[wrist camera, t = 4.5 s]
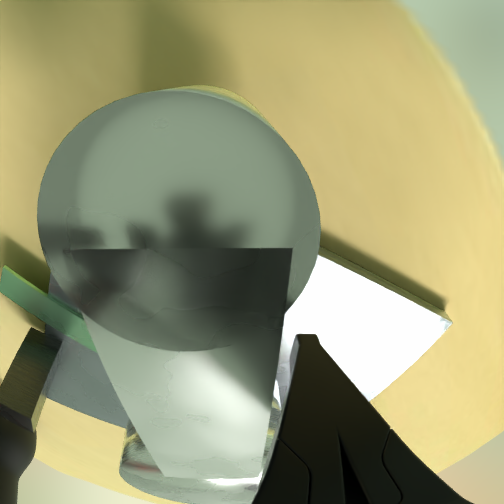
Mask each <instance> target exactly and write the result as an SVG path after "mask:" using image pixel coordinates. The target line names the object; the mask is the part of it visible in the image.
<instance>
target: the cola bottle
mask: <svg viewBox="0 0 504 504" xmlns="http://www.w3.org/2000/svg"><path fill="white" fill-rule="evenodd" d="M36 439H37V436H36V429H35V432H34V433H32V432H30V431H28V430H26V429H24V428H22V427H20V426H18V425H16V424H14V423H12V422H10V421H8V420H6V419H4V418H3V417H1V416H0V504H17V493H18V481H19V478H20V476H21V475H22V473H23V472H24V470H25V469H26V468H27V467H28V465H29V464H30V463H31V461H32V459H33V457H34V454H35V450H36Z"/></svg>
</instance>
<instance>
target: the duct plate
mask: <svg viewBox="0 0 504 504" xmlns="http://www.w3.org/2000/svg"><path fill="white" fill-rule="evenodd" d="M0 292H1V293H3V294H4V295H5V296H7V297H8V298H9V299H11V300H12V301H14V302H15V303H17V304H18V305H19V306H21V307H22V308H24V309H25V310H27V311H28V312H30V313H31V314H33V315H34V316H36V317H37V318H39V319H40V320H42V321H44V322H45V323H46V324H45V334H44V333H42V332H40V331H38V330H36V329H34V328H32V327H31V328H30V330H29V332H28V334H27V335H26V337H25V339H24V341H23V343H22V344H21V346H20V348H19V350H18V352H17V354H16V356H15V358H14V360H13V362H12V364H11V366H10V368H9V370H8V372H7V374H6V376H5V378H4V380H3V382H2V384H1V386H0V416H1V417H3V418H4V419H6V420H8V421H10V422H12V423H14V424H16V425H18V426H20V427H22V428H24V429H26V430H28V431H30V432H32V433H34V432H35V429H36V426H37V423H38V420H39V417H40V414H41V411H42V408H43V405H44V403H45V400H46V397H47V398H49V399H51V400H53V401H55V402H58V403H60V404H62V405H65V406H67V407H69V408H72V409H74V410H76V411H79V412H81V413H84V414H87V415H89V416H92V417H94V418H97V419H100V420H103V421H105V422H108V423H111V424H114V425H117V426H120V427H123V428H126V426H127V423H128V421H129V419H130V418H129V417H128V415H127V413H126V411H125V409H124V407H123V405H122V403H121V401H120V399H119V397H118V395H117V393H116V391H115V389H114V387H113V385H112V383H111V381H110V379H109V377H108V375H107V373H106V370H105V368H104V366H103V364H102V362H101V359H100V357H99V355H98V352H97V350H96V348H95V345H94V343H93V341H92V338H91V336H90V333H89V331H88V328H87V325H86V323H85V320H84V318H83V315H82V312H81V310H80V309H79V308H78V307H77V306H76V305H75V304H74V303H73V302H72V301H71V300H70V299H69V297H68V296H67V295H66V294H65V293H64V291H63V290H62V288H61V287H60V285H59V284H58V282H57V281H56V279H55V278H54V276H53V274H52V272H51V274H50V282H49V291H48V294H46V293H45V292H43V291H42V290H40V289H39V288H37V287H36V286H34V285H33V284H31V283H30V282H28V281H27V280H26V279H24V278H23V277H21V276H20V275H18V274H17V273H16V272H14V271H13V270H12V269H10V268H9V267H7V266H6V265H5V266H4V267H3V270H2V276H1V281H0ZM452 323H453V322H452V321H451V320H450V318H449V317H448V315H447V314H446V312H444V311H443V310H441V309H439V308H437V307H435V306H433V305H432V304H430V303H428V302H426V301H424V300H422V299H421V298H419V297H417V296H415V295H413V294H411V293H410V292H408V291H406V290H404V289H402V288H400V287H398V286H396V285H395V284H393V283H391V282H389V281H387V280H385V279H383V278H381V277H379V276H377V275H376V274H374V273H372V272H370V271H368V270H366V269H364V268H362V267H360V266H358V265H356V264H354V263H352V262H350V261H348V260H346V259H345V258H343V257H341V256H339V255H337V254H335V253H333V252H331V251H329V250H327V249H325V248H323V247H321V246H320V247H319V252H318V256H317V261H316V265H315V267H314V270H313V272H312V275H311V277H310V280H309V282H308V283H307V285H306V287H305V289H304V290H303V292H302V294H301V295H300V296H299V298H298V299H297V300H296V302H295V303H294V304H293V306H292V307H291V308H290V309H289V310H288V311H287V312H286V313H285V318H284V325H283V333H282V340H281V347H280V354H279V361H278V368H277V375H276V381H275V388H274V394H273V401H272V407H273V408H276V409H279V410H281V408H282V405H283V401H284V397H285V393H286V390H287V386H288V382H289V378H290V362H289V361H290V353H291V349H292V345H293V341H294V337H295V335H296V334H298V333H315V334H317V336H318V338H319V340H320V343H321V345H322V346H323V347H324V349H325V350H326V351H327V352H328V353H329V355H330V356H331V357H332V358H333V359H334V361H335V362H336V363H337V364H338V365H339V366H340V368H341V369H342V370H343V371H344V372H345V374H346V375H347V376H348V377H349V378H350V380H351V381H352V382H353V383H354V384H355V386H356V387H357V388H358V389H359V390H360V391H361V393H362V394H363V395H364V396H365V397H366V399H367V400H368V401H370V400H372V399H373V398H374V397H375V396H377V395H378V394H379V393H380V392H381V391H383V390H384V389H385V388H386V387H387V386H388V385H390V384H391V383H392V382H393V381H394V380H395V379H396V378H397V377H399V376H400V375H401V374H402V373H403V372H404V371H405V370H406V369H407V368H408V367H410V366H411V365H412V364H413V363H414V362H415V361H416V360H417V359H418V358H419V357H420V356H421V355H422V354H423V353H424V352H425V351H426V350H427V349H428V348H429V347H430V346H431V345H432V344H433V343H434V342H435V341H436V340H437V339H438V338H439V337H440V336H441V335H442V334H443V333H444V332H445V331H446V330H447V329H448V327H449V326H450V325H451V324H452Z"/></svg>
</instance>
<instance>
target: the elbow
mask: <svg viewBox="0 0 504 504" xmlns="http://www.w3.org/2000/svg"><path fill="white" fill-rule="evenodd" d="M37 222H38V232H39V238H40V242H41V246H42V250H43V253H44V256H45V258H46V261H47V264H48V266H49V268H50V270H51V272H52V274H53V276H54V278H55V279H56V281H57V282H58V284H59V285H60V287H61V288H62V290H63V291H64V293H65V294H66V295H67V296H68V297H69V299H70V300H71V301H72V302H73V303H74V304H75V305H76V306H77V307H78V308H79V309H80V310H81V312H82V315H83V318H84V320H85V323H86V325H87V328H88V331H89V333H90V336H91V338H92V341H93V343H94V345H95V348H96V350H97V352H98V355H99V357H100V359H101V362H102V364H103V366H104V368H105V370H106V373H107V375H108V377H109V379H110V381H111V383H112V385H113V387H114V389H115V391H116V393H117V395H118V397H119V399H120V401H121V403H122V405H123V407H124V409H125V411H126V413H127V415H128V417H129V418H130V419H129V421H128V423H127V426H126V432H125V437H124V443H123V449H122V455H121V461H120V468H119V473H120V476H121V477H122V478H123V479H124V480H125V481H126V482H127V483H128V484H130V485H132V486H133V487H135V488H137V489H139V490H141V491H143V492H146V493H148V494H151V495H154V496H157V497H160V498H164V499H168V500H172V501H177V502H182V503H189V504H251V503H252V501H253V499H254V496H255V493H256V490H257V487H258V484H259V482H260V478H261V475H262V472H263V469H264V466H265V463H266V459H267V456H268V453H269V450H270V446H271V443H272V440H273V436H274V433H275V429H276V426H277V422H278V419H279V415H280V412H281V410H279V409H276V408H273V407H272V401H273V394H274V388H275V381H276V375H277V368H278V361H279V354H280V347H281V340H282V333H283V325H284V318H285V313H286V312H287V311H288V310H289V309H290V308H291V307H292V306H293V304H294V303H295V302H296V300H297V299H298V298H299V296H300V295H301V294H302V292H303V290H304V289H305V287H306V285H307V283H308V282H309V280H310V277H311V275H312V272H313V270H314V267H315V265H316V261H317V256H318V252H319V247H320V235H321V226H320V212H319V208H318V203H317V199H316V194H315V192H314V189H313V186H312V184H311V181H310V179H309V176H308V174H307V172H306V171H305V169H304V167H303V165H302V164H301V162H300V160H299V159H298V157H297V156H296V154H295V153H294V152H293V151H292V149H291V148H290V147H289V146H288V144H287V143H286V142H285V141H284V139H283V138H282V137H281V136H280V135H279V134H278V133H277V131H276V130H275V129H274V128H273V127H272V126H271V125H270V123H269V122H268V121H267V120H266V119H265V118H264V117H263V116H262V114H261V113H260V112H259V111H258V110H257V109H256V108H255V107H254V106H253V105H252V104H251V103H250V102H248V101H247V100H246V99H244V98H243V97H241V96H239V95H238V94H236V93H233V92H231V91H229V90H226V89H223V88H220V87H215V86H209V85H193V86H184V87H177V88H170V89H163V90H157V91H151V92H146V93H141V94H135V95H132V96H129V97H126V98H123V99H120V100H117V101H114V102H112V103H110V104H108V105H106V106H104V107H102V108H100V109H98V110H97V111H95V112H94V113H92V114H91V115H89V116H88V117H87V118H85V119H84V120H83V121H81V122H80V123H79V124H78V125H77V126H76V127H75V128H74V129H73V130H72V131H71V132H70V133H69V134H68V135H67V136H66V137H65V138H64V140H63V141H62V142H61V144H60V145H59V146H58V148H57V149H56V151H55V152H54V154H53V156H52V158H51V160H50V162H49V164H48V166H47V168H46V171H45V173H44V176H43V179H42V182H41V186H40V192H39V197H38V208H37Z"/></svg>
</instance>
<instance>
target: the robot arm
mask: <svg viewBox="0 0 504 504" xmlns="http://www.w3.org/2000/svg"><path fill="white" fill-rule="evenodd" d="M289 362H290V378H289V382H288V386H287V390H286V393H285V397H284V401H283V405H282V408H281V412H280V415H279V419H278V422H277V426H276V429H275V433H274V436H273V440H272V443H271V446H270V450H269V453H268V456H267V459H266V463H265V466H264V469H263V472H262V475H261V478H260V482H259V484H258V487H257V490H256V493H255V496H254V499H253V501H252V503H251V504H474V503H471V502H469V501H467V500H466V499H464V498H463V497H461V496H460V495H459V494H458V493H456V492H455V491H454V490H453V489H452V488H451V487H449V486H448V485H447V484H446V483H445V482H444V481H443V480H442V479H441V478H439V477H438V476H437V475H436V474H435V473H434V472H433V471H432V470H431V469H430V468H429V467H427V466H426V465H425V464H424V463H423V462H422V461H421V460H420V459H419V458H418V457H417V456H416V455H415V454H414V453H413V452H412V451H411V450H410V448H409V447H408V446H407V445H406V444H405V443H404V442H403V441H402V440H401V439H400V437H399V436H398V435H397V434H396V433H395V431H394V430H393V429H390V426H389V425H388V423H387V422H386V421H385V420H384V419H383V417H382V416H381V415H380V414H379V413H378V412H377V410H376V409H375V408H374V407H373V406H372V404H371V403H370V402H369V401H368V400H367V399H366V397H365V396H364V395H363V394H362V393H361V391H360V390H359V389H358V388H357V387H356V386H355V384H354V383H353V382H352V381H351V380H350V378H349V377H348V376H347V375H346V374H345V372H344V371H343V370H342V369H341V368H340V366H339V365H338V364H337V363H336V362H335V361H334V359H333V358H332V357H331V356H330V355H329V353H328V352H327V351H326V350H325V349H324V347H323V346H322V345H321V343H320V340H319V338H318V336H317V334H315V333H298V334H296V335H295V337H294V341H293V345H292V349H291V353H290V361H289Z"/></svg>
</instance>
